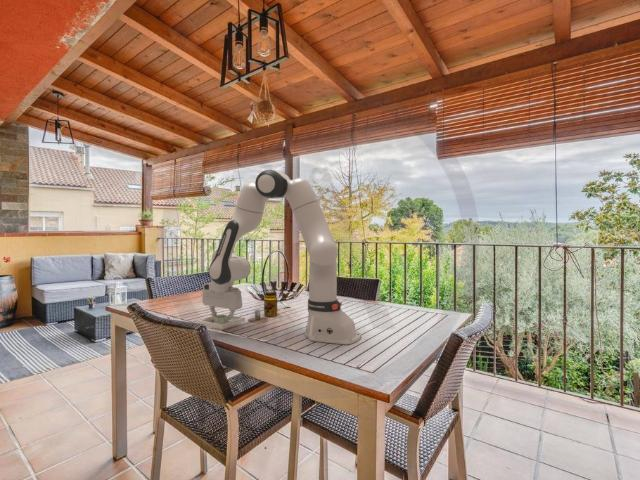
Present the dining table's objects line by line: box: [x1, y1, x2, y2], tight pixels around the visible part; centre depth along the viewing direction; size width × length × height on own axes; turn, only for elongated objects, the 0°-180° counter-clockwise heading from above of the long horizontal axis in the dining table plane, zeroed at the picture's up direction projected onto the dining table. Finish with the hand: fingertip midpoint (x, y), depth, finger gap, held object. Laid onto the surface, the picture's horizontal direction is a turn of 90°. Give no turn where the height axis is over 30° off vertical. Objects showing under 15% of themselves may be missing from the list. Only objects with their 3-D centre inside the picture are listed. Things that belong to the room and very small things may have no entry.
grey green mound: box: [247, 309, 268, 324], centre depth 156 cm, size 9×9×5 cm
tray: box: [197, 313, 246, 330], centre depth 151 cm, size 14×14×2 cm
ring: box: [213, 314, 230, 324], centre depth 151 cm, size 6×6×3 cm
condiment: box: [263, 290, 278, 318], centre depth 165 cm, size 7×8×12 cm
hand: (222, 317), depth 151 cm, fingers open, 8 cm apart
